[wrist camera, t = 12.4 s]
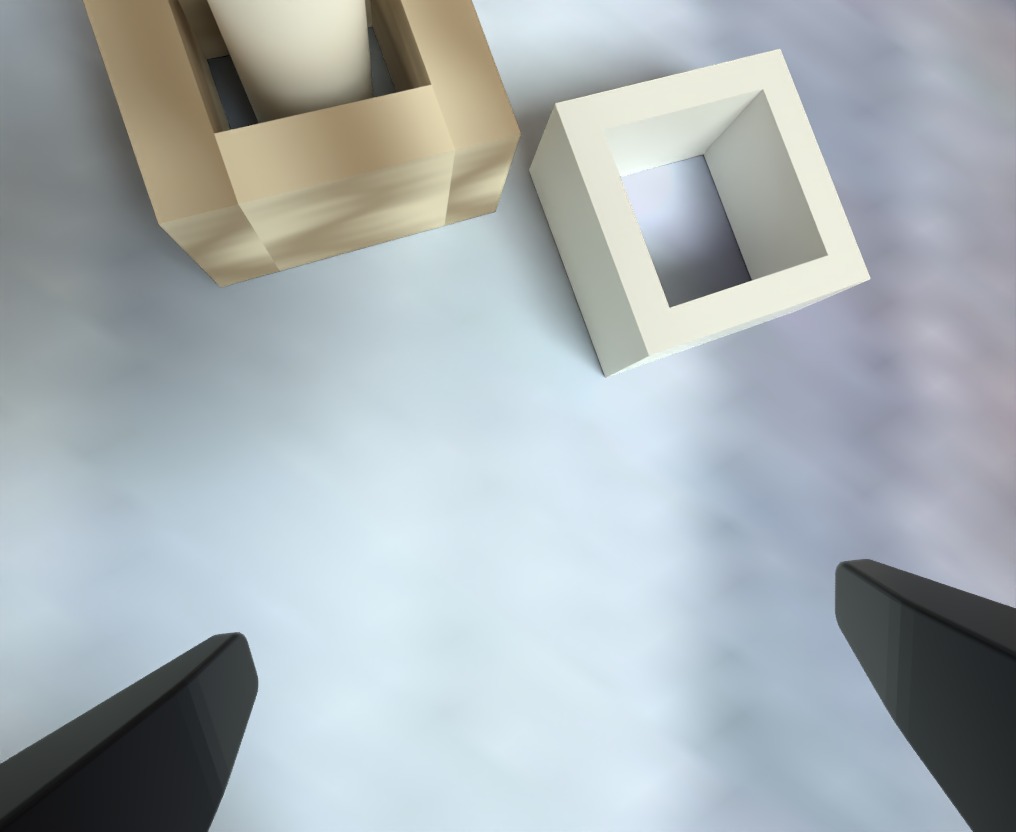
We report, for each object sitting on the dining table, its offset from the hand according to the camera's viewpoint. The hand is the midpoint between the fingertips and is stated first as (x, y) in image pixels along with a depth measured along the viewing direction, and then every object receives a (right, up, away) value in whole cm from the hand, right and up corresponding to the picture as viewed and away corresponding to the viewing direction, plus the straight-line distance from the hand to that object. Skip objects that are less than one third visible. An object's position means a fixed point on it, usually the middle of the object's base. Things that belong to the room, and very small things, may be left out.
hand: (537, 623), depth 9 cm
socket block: (-7, +14, +12) cm, 20 cm away
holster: (+6, +10, +14) cm, 18 cm away
